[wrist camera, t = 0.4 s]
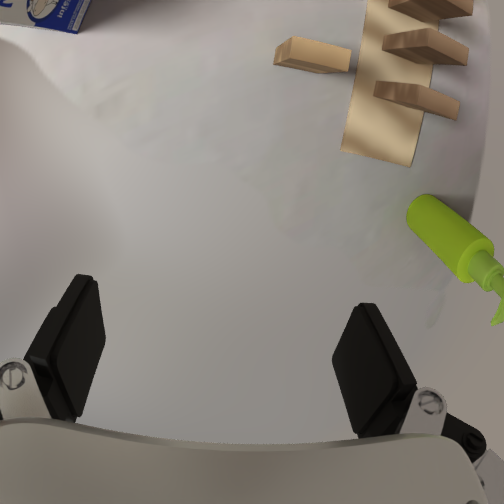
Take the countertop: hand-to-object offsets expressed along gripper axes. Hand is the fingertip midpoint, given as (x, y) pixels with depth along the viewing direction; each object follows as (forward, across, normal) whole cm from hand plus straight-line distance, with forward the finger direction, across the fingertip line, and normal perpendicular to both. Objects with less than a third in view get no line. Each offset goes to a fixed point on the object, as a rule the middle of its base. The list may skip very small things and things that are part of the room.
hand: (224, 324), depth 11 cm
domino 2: (+28, -18, -23) cm, 40 cm away
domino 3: (+28, -18, -17) cm, 37 cm away
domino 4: (+28, -18, -11) cm, 35 cm away
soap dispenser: (+28, -28, +4) cm, 40 cm away
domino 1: (+28, -6, -12) cm, 31 cm away
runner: (+28, -18, -17) cm, 37 cm away
